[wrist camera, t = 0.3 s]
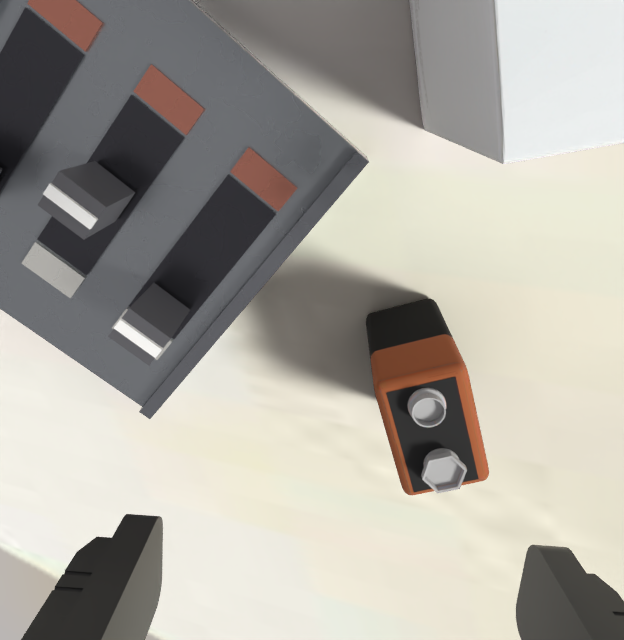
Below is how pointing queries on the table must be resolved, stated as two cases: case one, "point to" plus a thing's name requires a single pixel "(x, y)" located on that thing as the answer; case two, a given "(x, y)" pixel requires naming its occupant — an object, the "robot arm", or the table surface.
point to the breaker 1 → (86, 198)
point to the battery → (425, 399)
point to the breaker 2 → (149, 323)
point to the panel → (151, 176)
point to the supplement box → (521, 74)
